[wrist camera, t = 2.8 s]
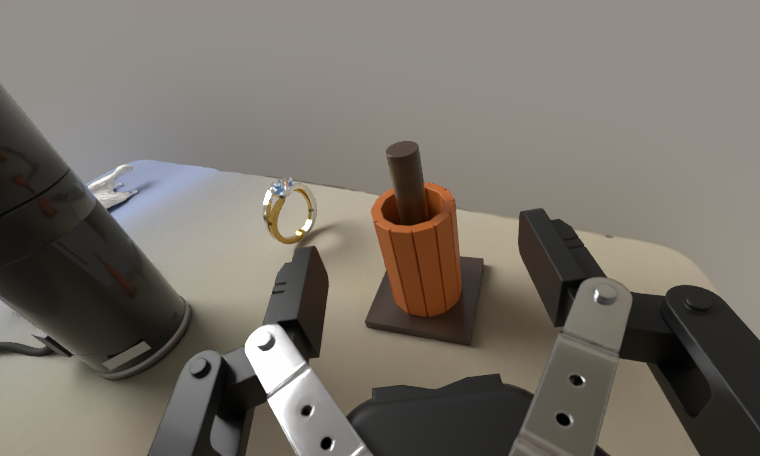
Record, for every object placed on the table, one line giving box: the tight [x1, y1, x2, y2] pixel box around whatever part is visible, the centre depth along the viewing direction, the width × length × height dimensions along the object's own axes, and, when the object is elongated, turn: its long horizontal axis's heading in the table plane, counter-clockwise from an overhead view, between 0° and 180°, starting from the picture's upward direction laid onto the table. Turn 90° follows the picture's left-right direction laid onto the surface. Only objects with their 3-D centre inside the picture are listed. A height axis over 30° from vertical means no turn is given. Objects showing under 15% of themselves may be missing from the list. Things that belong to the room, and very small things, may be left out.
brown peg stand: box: [365, 141, 484, 345], centre depth 28 cm, size 9×9×15 cm
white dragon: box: [87, 165, 138, 209], centre depth 61 cm, size 18×10×4 cm, turn 143°
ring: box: [263, 177, 317, 244], centre depth 41 cm, size 7×3×8 cm, turn 141°
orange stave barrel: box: [371, 183, 462, 317], centre depth 29 cm, size 6×6×10 cm
